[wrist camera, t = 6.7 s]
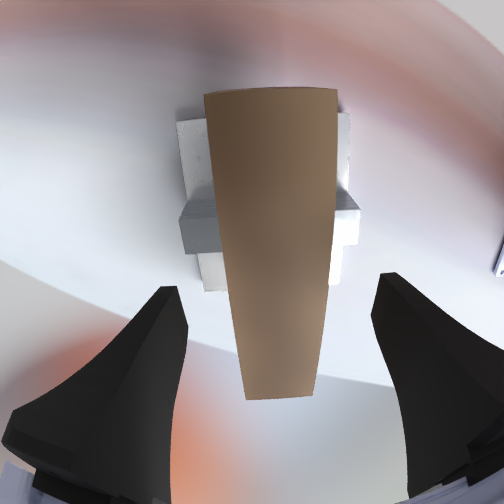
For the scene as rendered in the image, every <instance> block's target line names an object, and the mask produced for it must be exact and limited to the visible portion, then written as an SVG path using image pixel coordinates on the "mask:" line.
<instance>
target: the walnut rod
mask: <svg viewBox="0 0 504 504" xmlns="http://www.w3.org/2000/svg"><path fill="white" fill-rule="evenodd" d="M204 103H205V113H206V123H207V132H208V141H209V150H210V159H211V167H212V176H213V184H214V192H215V200H216V208H217V215H218V223H219V230H220V238H221V245H222V252H223V259H224V266H225V273H226V280H227V287H228V294H229V300H230V307H231V313H232V320H233V326H234V332H235V338H236V345H237V351H238V357H239V362H240V368H241V374H242V380H243V386H244V392H245V397H246V400H262V399H279V398H292V397H304V396H312V395H313V390H314V384H315V379H316V373H317V367H318V361H319V355H320V348H321V342H322V335H323V328H324V320H325V313H326V305H327V297H328V288H329V279H330V269H331V258H332V247H333V235H334V221H335V205H336V184H337V153H338V95H337V89H328V88H316V87H267V88H249V89H235V90H224V91H218V92H213V93H208V94H204Z"/></svg>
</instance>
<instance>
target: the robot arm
mask: <svg viewBox="0 0 504 504" xmlns="http://www.w3.org/2000/svg"><path fill="white" fill-rule="evenodd" d="M494 275H495V276H496V277H500V276H504V245H503V248H502V251H501V253H500V256H499V259H498V262H497V264H496V267H495V270H494ZM371 319H372V323H373V327H374V331H375V335H376V338H377V341H378V344H379V346H380V349H381V352H382V354H383V357H384V360H385V362H386V365H387V367H388V370H389V373H390V375H391V378H392V381H393V384H394V387H395V390H396V393H397V397H398V401H399V405H400V411H401V416H402V421H403V428H404V434H405V442H406V453H407V475H408V483H407V491H408V495H409V499H408V500H405V501H402V502H399V503H396V504H504V350H502V349H501V348H499V347H497V346H495V345H493V344H491V343H490V342H488V341H486V340H484V339H483V338H481V337H480V336H478V335H477V334H475V333H474V332H472V331H470V330H469V329H467V328H466V327H464V326H463V325H462V324H460V323H459V322H458V321H456V320H455V319H454V318H452V317H451V316H450V315H448V314H447V313H446V312H444V311H443V310H442V309H441V308H439V307H438V306H437V305H436V304H434V303H433V302H432V301H431V300H429V299H428V298H427V297H426V296H425V295H423V294H422V293H421V292H420V291H419V290H417V289H416V288H415V287H414V286H413V285H411V284H410V283H409V282H408V281H406V280H405V279H404V278H403V277H401V276H400V275H399V274H397V273H396V272H393V273H381V274H380V278H379V283H378V287H377V292H376V296H375V300H374V304H373V308H372V312H371ZM187 337H188V324H187V321H186V317H185V314H184V310H183V307H182V303H181V300H180V296H179V292H178V289H177V286H161V287H160V288H159V289H158V290H157V291H156V292H155V293H154V294H153V296H152V297H151V298H150V299H149V300H148V301H147V303H146V304H145V305H144V306H143V307H142V308H141V309H140V311H139V312H138V313H137V314H136V315H135V316H134V317H133V319H132V320H131V321H130V322H129V323H128V324H127V325H126V327H125V328H124V329H123V330H122V331H121V332H120V333H119V334H118V335H117V336H116V337H115V338H114V339H113V340H112V341H111V342H110V343H109V344H108V345H107V346H106V347H105V348H104V349H103V350H102V351H101V352H100V353H99V354H98V355H97V356H96V357H94V358H93V359H92V360H91V361H90V362H89V363H87V364H86V365H85V366H84V367H83V368H81V369H80V370H79V371H77V372H76V373H75V374H73V375H72V376H71V377H69V378H68V379H67V380H65V381H64V382H63V383H61V384H60V385H58V386H57V387H55V388H54V389H52V390H50V391H49V392H48V393H46V394H44V395H42V396H41V397H39V398H37V399H35V400H33V401H32V402H29V403H27V404H25V405H23V406H21V407H20V408H17V409H15V410H13V412H12V415H11V417H10V419H9V422H8V424H7V427H6V430H5V432H4V435H3V438H2V441H1V442H2V444H3V445H4V447H6V448H7V449H8V450H9V451H10V452H12V453H13V454H15V455H16V456H17V457H19V458H21V459H22V460H23V461H25V462H26V463H28V464H29V465H31V466H32V467H34V468H36V472H35V475H33V474H32V473H30V472H28V471H26V470H24V469H22V468H20V467H19V466H17V465H15V464H13V463H11V462H9V461H5V464H4V467H3V471H2V474H1V477H0V504H171V491H170V445H171V430H172V418H173V409H174V403H175V398H176V394H177V389H178V384H179V380H180V376H181V372H182V367H183V363H184V358H185V354H186V346H187Z"/></svg>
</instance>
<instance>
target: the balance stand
mask: <svg viewBox="0 0 504 504" xmlns="http://www.w3.org/2000/svg"><path fill="white" fill-rule="evenodd" d="M176 126H177V134H178V141H179V149H180V156H181V162H182V169H183V176H184V182H185V188H186V194H187V204H186V206H185V208H184V210H183V212H182V214H181V216H180V218H179V225H180V230H181V235H182V240H183V244H184V249H185V254H197V256H198V261H199V266H200V271H201V276H202V281H203V286H204V291H205V292H207V291H228V287H227V280H226V273H225V266H224V259H223V252H222V245H221V238H220V230H219V223H218V215H217V208H216V200H215V192H214V184H213V176H212V167H211V159H210V150H209V141H208V132H207V123H206V118H199V119H191V120H184V121H178V122H176ZM349 142H350V114H349V113H346V112H338V153H337V184H336V205H335V221H334V235H333V247H332V258H331V269H330V279H329V284H338V283H339V275H340V267H341V258H342V249H343V245H354V244H357V239H358V231H359V222H360V213H361V209H360V208H359V207H358V205H357V204H356V203H355V202H354V200H353V199H352V198H351V196H350V195H349V194H348V193H347V189H348V170H349Z"/></svg>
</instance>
